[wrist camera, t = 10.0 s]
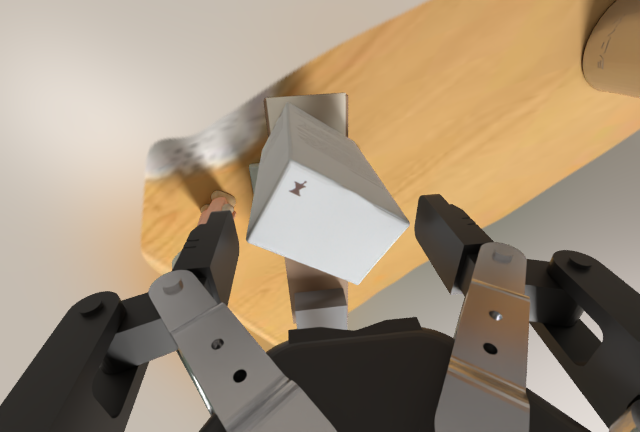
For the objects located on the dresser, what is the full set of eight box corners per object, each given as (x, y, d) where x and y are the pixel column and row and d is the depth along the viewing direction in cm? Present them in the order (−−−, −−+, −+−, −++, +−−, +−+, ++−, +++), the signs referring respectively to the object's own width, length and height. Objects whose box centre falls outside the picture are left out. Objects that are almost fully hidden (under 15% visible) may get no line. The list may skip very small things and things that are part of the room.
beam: (350, 86, 24) (365, 97, 19) (349, 297, 35) (358, 335, 31) (256, 92, 23) (249, 104, 19) (286, 304, 35) (287, 343, 30)
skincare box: (260, 151, 23) (239, 242, 12) (286, 99, 21) (288, 154, 11) (328, 186, 25) (358, 289, 14) (357, 141, 23) (415, 222, 13)
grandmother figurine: (222, 235, 36) (196, 322, 25) (191, 222, 34) (148, 308, 24) (251, 185, 33) (235, 259, 22) (218, 168, 31) (183, 239, 21)
